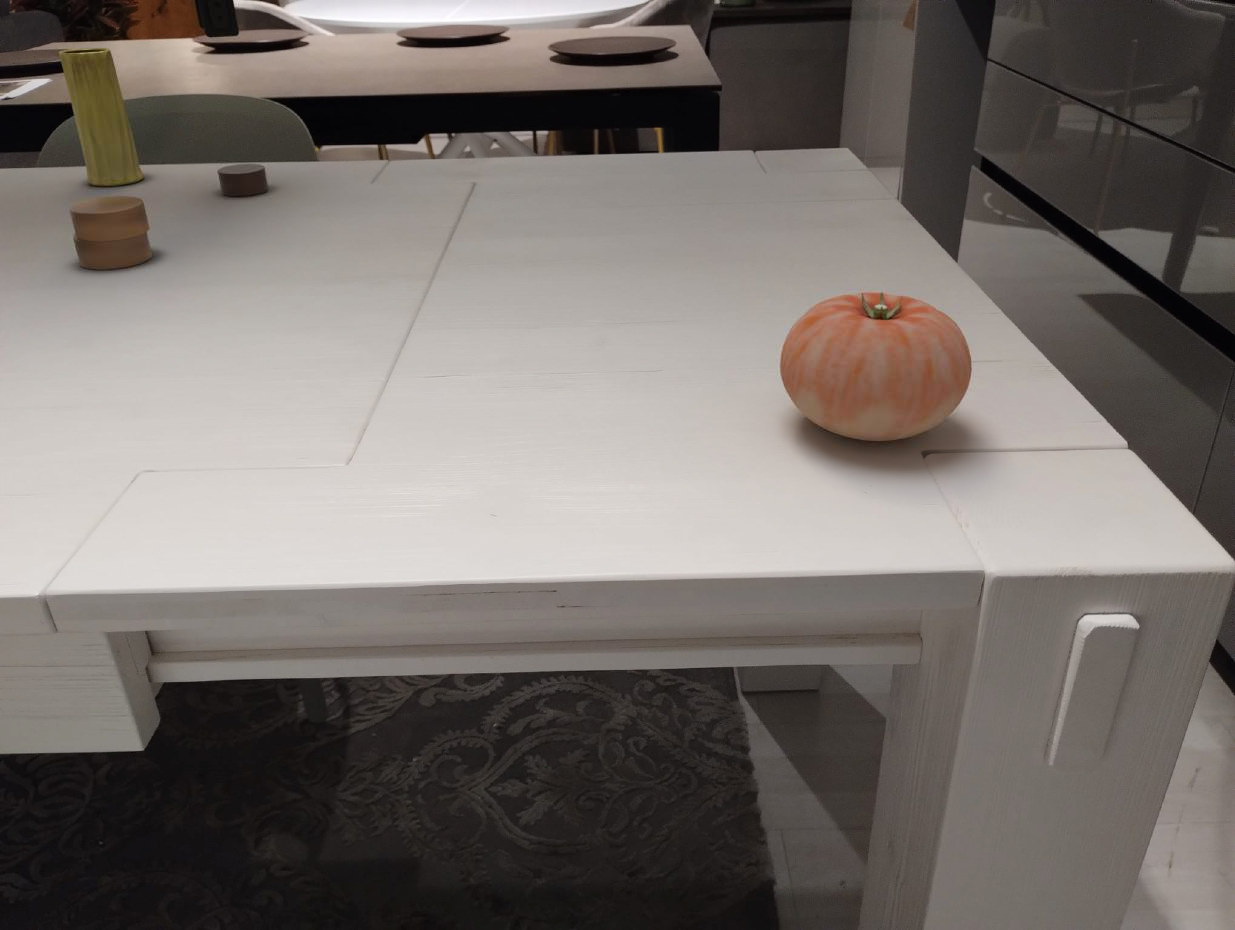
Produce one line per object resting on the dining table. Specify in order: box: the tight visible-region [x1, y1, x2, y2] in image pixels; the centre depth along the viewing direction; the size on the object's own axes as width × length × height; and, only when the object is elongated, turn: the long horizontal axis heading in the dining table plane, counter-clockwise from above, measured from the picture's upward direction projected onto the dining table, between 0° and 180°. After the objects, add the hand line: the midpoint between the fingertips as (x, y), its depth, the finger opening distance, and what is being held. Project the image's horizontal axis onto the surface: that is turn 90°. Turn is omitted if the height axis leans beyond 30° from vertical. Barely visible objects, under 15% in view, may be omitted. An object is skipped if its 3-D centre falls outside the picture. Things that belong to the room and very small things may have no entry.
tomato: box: [779, 291, 973, 442], centre depth 59 cm, size 11×11×8 cm
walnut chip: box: [217, 163, 269, 198], centre depth 113 cm, size 5×5×2 cm
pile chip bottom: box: [72, 231, 153, 271], centre depth 91 cm, size 6×6×2 cm
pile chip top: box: [68, 195, 150, 242], centre depth 90 cm, size 6×6×2 cm
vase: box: [58, 47, 145, 187], centre depth 116 cm, size 6×6×14 cm
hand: (219, 32), depth 106 cm, fingers open, 9 cm apart
